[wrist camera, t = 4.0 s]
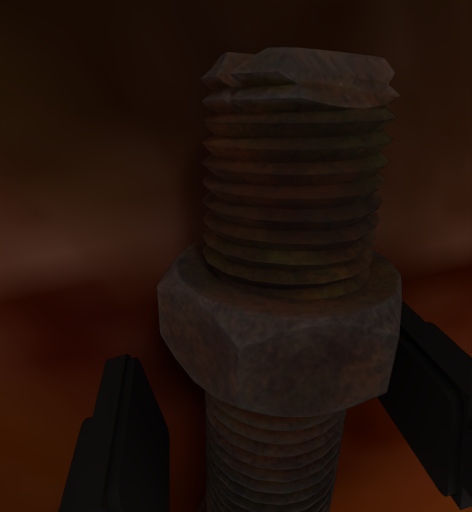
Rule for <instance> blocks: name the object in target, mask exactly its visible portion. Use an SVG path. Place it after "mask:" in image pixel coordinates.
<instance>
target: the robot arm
mask: <svg viewBox="0 0 472 512" xmlns="http://www.w3.org/2000/svg"><path fill="white" fill-rule="evenodd" d="M377 397H378V399H379V400H380V402H381V403H382V405H383V406H384V408H385V410H386V411H387V413H388V414H389V416H390V417H391V419H392V420H393V422H394V423H395V425H396V426H397V428H398V429H399V431H400V432H401V434H402V435H403V437H404V438H405V440H406V441H407V443H408V444H409V446H410V447H411V449H412V450H413V452H414V453H415V455H416V456H417V458H418V459H419V461H420V462H421V464H422V466H423V467H424V469H425V470H426V472H427V473H428V475H429V476H430V478H431V479H432V481H433V482H434V484H435V485H436V487H437V488H438V490H439V491H440V492H441V493H442V494H443V495H444V496H445V497H446V496H449V495H451V497H452V498H453V500H454V501H455V503H456V504H457V506H458V507H459V509H460V510H462V509H465V508H468V507H471V506H472V358H471V357H470V356H469V355H468V354H467V353H466V352H465V351H463V350H462V349H461V348H460V347H459V346H458V345H457V344H456V343H455V342H453V341H452V340H451V339H450V338H449V337H448V336H447V335H446V334H445V333H444V332H442V331H441V330H440V329H439V328H438V327H437V326H436V325H434V324H433V323H430V322H425V321H424V320H423V319H422V318H420V317H419V316H418V315H417V314H416V313H415V312H414V311H413V310H412V309H411V308H410V307H409V306H408V305H406V304H405V303H404V302H403V301H402V306H401V320H400V333H399V340H398V344H397V349H396V353H395V358H394V362H393V367H392V371H391V376H390V380H389V385H388V389H387V393H385V394H382V395H380V396H377ZM59 512H169V431H168V427H167V424H166V422H165V420H164V417H163V415H162V413H161V410H160V408H159V405H158V403H157V401H156V398H155V396H154V394H153V391H152V389H151V387H150V384H149V382H148V380H147V377H146V375H145V373H144V370H143V368H142V365H141V363H140V361H139V359H138V358H137V357H136V358H131V356H130V355H128V354H126V355H123V356H119V357H115V358H112V359H108V360H107V361H106V363H105V367H104V371H103V375H102V379H101V384H100V388H99V392H98V396H97V401H96V405H95V409H94V413H93V417H90V418H86V419H85V420H84V421H83V423H82V426H81V429H80V432H79V436H78V440H77V444H76V448H75V451H74V455H73V459H72V463H71V467H70V470H69V474H68V478H67V482H66V486H65V489H64V493H63V497H62V501H61V505H60V508H59Z"/></svg>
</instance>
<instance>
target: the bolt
mask: <svg viewBox="0 0 472 512" xmlns="http://www.w3.org/2000/svg"><path fill="white" fill-rule="evenodd" d="M394 74H395V71H394V70H393V69H392V67H391V66H390V65H389V64H388V62H387V61H386V60H385V58H384V57H377V56H369V55H362V54H354V53H346V52H336V51H327V50H317V49H307V48H298V47H276V48H266V49H264V50H263V51H261V52H259V53H258V54H244V53H233V52H227V53H225V54H223V55H221V56H220V57H219V59H218V60H217V61H216V63H215V64H214V66H213V67H212V68H211V69H210V70H209V71H208V72H207V73H206V74H205V75H203V76H202V77H201V78H200V80H201V81H202V82H203V83H204V84H205V85H206V86H207V87H209V88H210V89H211V90H212V92H210V93H209V94H208V95H207V96H206V97H205V98H204V99H202V100H201V101H200V102H201V103H202V104H204V105H205V106H206V107H207V108H208V109H209V110H210V111H211V112H213V113H212V114H211V115H209V116H208V117H207V118H206V119H204V120H203V121H202V122H203V124H204V125H205V126H206V127H207V128H208V129H209V130H210V131H211V132H212V133H213V134H212V135H210V136H209V137H207V138H206V139H205V140H203V141H202V142H201V143H202V144H203V145H204V146H205V147H206V148H207V149H208V150H209V151H210V152H211V153H212V154H211V155H210V156H208V157H207V158H206V159H204V160H203V163H202V164H203V165H204V166H205V167H206V168H207V169H208V170H209V171H210V172H211V174H210V175H208V176H207V177H205V178H204V179H203V185H204V186H205V187H206V188H208V189H209V190H210V191H211V192H210V193H208V194H207V195H206V196H205V197H204V198H203V199H202V201H203V202H204V204H205V205H206V206H207V207H208V208H209V209H210V210H209V211H207V212H206V213H204V214H203V222H204V223H205V224H206V225H207V226H208V227H207V228H206V230H205V231H204V233H203V235H202V236H203V237H204V239H201V240H199V241H197V242H194V243H193V244H191V245H190V246H189V247H188V248H187V249H185V250H184V251H183V252H182V253H181V254H180V255H179V256H178V257H177V258H176V259H175V260H174V261H173V263H172V264H171V266H170V267H169V269H168V270H167V272H166V273H165V275H164V276H163V278H162V279H161V281H160V282H159V284H158V285H157V295H158V309H159V324H160V334H161V336H162V338H163V339H164V341H165V342H166V344H167V346H168V347H169V349H170V350H171V352H172V354H173V355H174V357H175V358H176V360H177V361H178V362H179V363H180V365H181V366H182V367H183V368H184V370H185V371H186V372H187V373H188V375H189V376H190V377H191V378H192V380H193V381H194V382H195V383H196V384H198V385H199V386H200V387H202V388H203V389H204V390H205V407H206V411H205V419H206V466H207V470H206V475H207V480H206V484H207V489H206V495H205V497H204V499H203V501H202V503H201V505H200V507H199V510H198V512H329V509H330V504H331V500H332V494H333V488H334V483H335V477H336V471H337V461H338V457H339V453H340V446H341V439H342V434H343V428H344V419H345V416H346V409H347V408H350V407H353V406H355V405H358V404H360V403H362V402H365V401H367V400H370V399H372V398H375V397H377V396H380V395H382V394H385V393H387V389H388V385H389V380H390V376H391V371H392V367H393V362H394V358H395V353H396V349H397V344H398V340H399V333H400V320H401V306H402V282H401V275H400V274H399V272H398V271H397V270H396V269H395V267H394V266H393V265H392V264H391V262H390V261H389V260H388V259H386V258H385V257H383V256H382V255H380V254H379V253H377V252H376V251H374V250H372V249H371V248H372V246H373V244H374V242H375V240H376V238H375V233H374V231H373V230H374V229H375V227H376V226H377V224H378V222H379V219H378V215H377V213H376V212H374V211H375V210H377V209H378V208H379V206H380V205H381V203H382V200H381V197H380V195H379V194H377V193H376V192H375V191H376V190H378V189H379V188H380V187H382V186H383V185H384V184H385V181H384V178H383V176H382V175H380V174H379V173H378V172H377V171H379V170H380V169H381V168H383V167H384V166H385V165H386V164H387V163H388V162H389V160H388V159H387V157H386V156H385V155H383V154H382V153H381V152H380V150H381V149H382V148H384V147H385V146H386V145H387V144H388V143H389V142H390V141H391V140H392V139H393V138H391V137H390V136H389V135H388V134H386V133H385V132H384V131H383V130H382V129H384V128H385V127H386V126H387V125H388V124H389V123H390V122H392V121H393V120H394V119H395V118H396V116H395V115H393V114H392V113H391V112H390V111H389V110H388V109H386V108H385V107H386V106H387V105H388V104H390V103H391V102H392V101H394V100H395V99H396V98H398V97H399V96H400V95H399V94H398V93H397V92H396V91H395V90H394V89H393V88H392V87H391V86H390V85H389V82H390V81H391V79H392V78H393V76H394Z"/></svg>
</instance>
